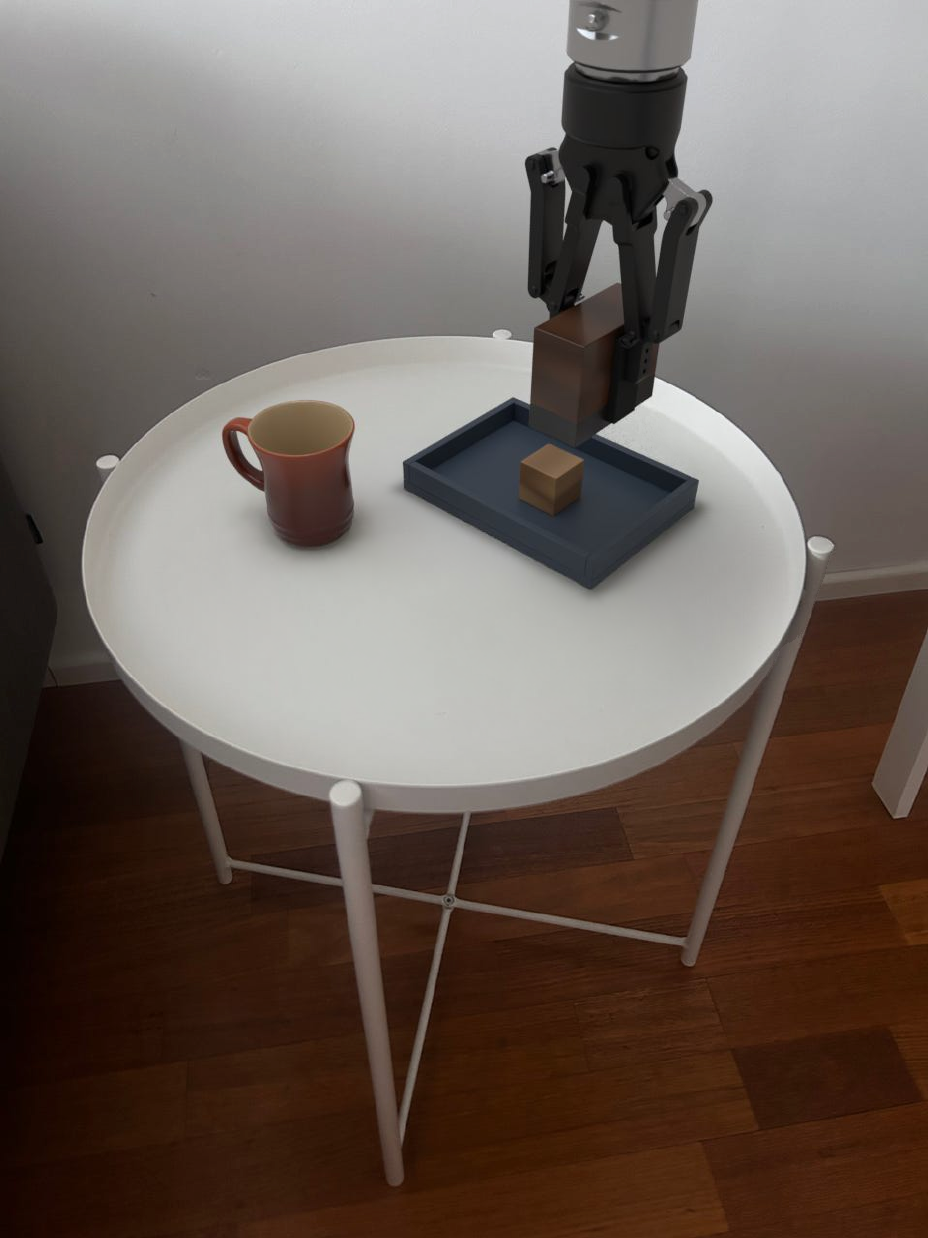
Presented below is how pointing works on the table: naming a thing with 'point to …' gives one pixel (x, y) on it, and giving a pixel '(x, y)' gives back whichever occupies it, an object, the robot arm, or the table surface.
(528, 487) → the wooden cube
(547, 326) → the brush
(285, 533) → the mug
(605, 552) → the tray
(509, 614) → the table surface
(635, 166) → the robot arm
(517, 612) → the table surface
